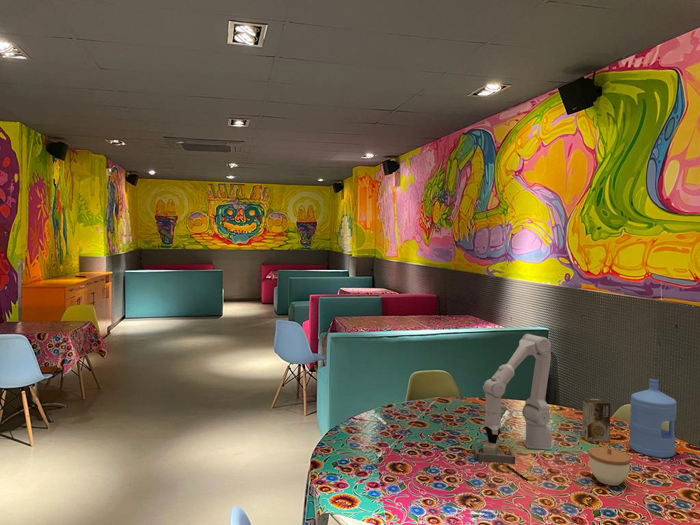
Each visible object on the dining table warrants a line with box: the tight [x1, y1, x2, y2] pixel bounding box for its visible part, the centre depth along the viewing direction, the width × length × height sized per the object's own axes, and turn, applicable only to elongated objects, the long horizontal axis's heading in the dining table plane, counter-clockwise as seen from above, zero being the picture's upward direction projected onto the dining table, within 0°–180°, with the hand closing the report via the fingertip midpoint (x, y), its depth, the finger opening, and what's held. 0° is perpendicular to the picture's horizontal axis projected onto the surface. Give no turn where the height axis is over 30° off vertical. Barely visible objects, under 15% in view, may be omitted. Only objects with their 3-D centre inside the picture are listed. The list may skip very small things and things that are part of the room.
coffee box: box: [581, 397, 611, 443], centre depth 211 cm, size 9×6×16 cm
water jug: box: [628, 378, 678, 459], centre depth 199 cm, size 16×16×28 cm
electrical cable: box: [505, 464, 529, 482], centre depth 176 cm, size 12×1×1 cm, turn 16°
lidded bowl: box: [588, 446, 632, 486], centre depth 172 cm, size 13×13×11 cm
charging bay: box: [473, 444, 516, 465], centre depth 189 cm, size 14×9×2 cm, turn 82°
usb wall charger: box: [482, 441, 504, 455], centre depth 191 cm, size 4×7×4 cm, turn 62°
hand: (491, 446), depth 195 cm, fingers closed
